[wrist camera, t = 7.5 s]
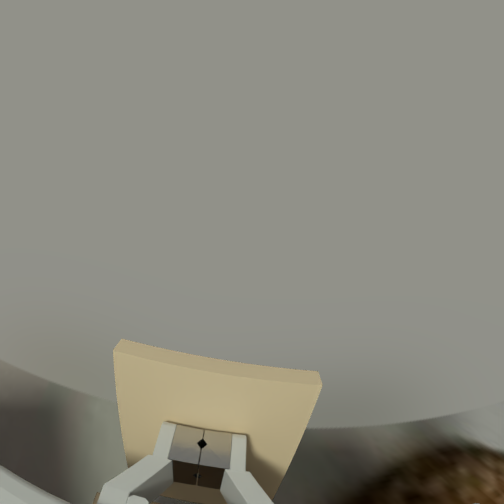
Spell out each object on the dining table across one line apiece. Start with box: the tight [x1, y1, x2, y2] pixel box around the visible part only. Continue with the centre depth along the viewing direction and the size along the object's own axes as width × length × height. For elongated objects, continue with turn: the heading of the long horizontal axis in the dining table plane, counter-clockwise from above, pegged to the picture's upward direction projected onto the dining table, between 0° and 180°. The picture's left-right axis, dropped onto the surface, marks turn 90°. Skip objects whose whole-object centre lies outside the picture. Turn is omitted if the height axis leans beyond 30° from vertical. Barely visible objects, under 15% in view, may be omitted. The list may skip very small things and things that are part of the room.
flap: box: [113, 339, 322, 504], centre depth 10 cm, size 7×1×9 cm, turn 89°
